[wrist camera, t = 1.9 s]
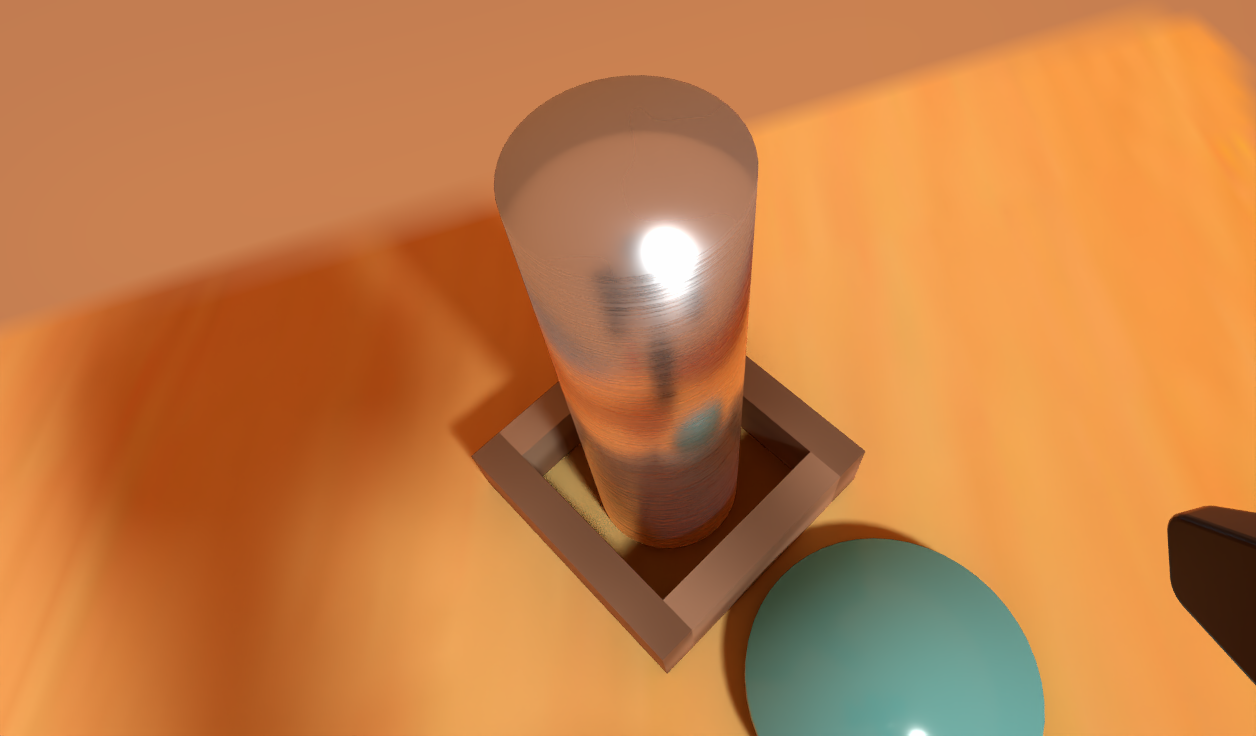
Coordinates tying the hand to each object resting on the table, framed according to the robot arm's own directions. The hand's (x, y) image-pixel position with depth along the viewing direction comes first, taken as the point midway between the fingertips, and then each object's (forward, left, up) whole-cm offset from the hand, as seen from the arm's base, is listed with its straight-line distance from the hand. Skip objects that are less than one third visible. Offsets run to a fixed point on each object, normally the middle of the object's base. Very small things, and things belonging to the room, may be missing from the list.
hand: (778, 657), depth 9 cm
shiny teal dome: (+4, -1, -13) cm, 14 cm away
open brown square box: (+4, +6, -13) cm, 15 cm away
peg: (+4, +6, -13) cm, 15 cm away
